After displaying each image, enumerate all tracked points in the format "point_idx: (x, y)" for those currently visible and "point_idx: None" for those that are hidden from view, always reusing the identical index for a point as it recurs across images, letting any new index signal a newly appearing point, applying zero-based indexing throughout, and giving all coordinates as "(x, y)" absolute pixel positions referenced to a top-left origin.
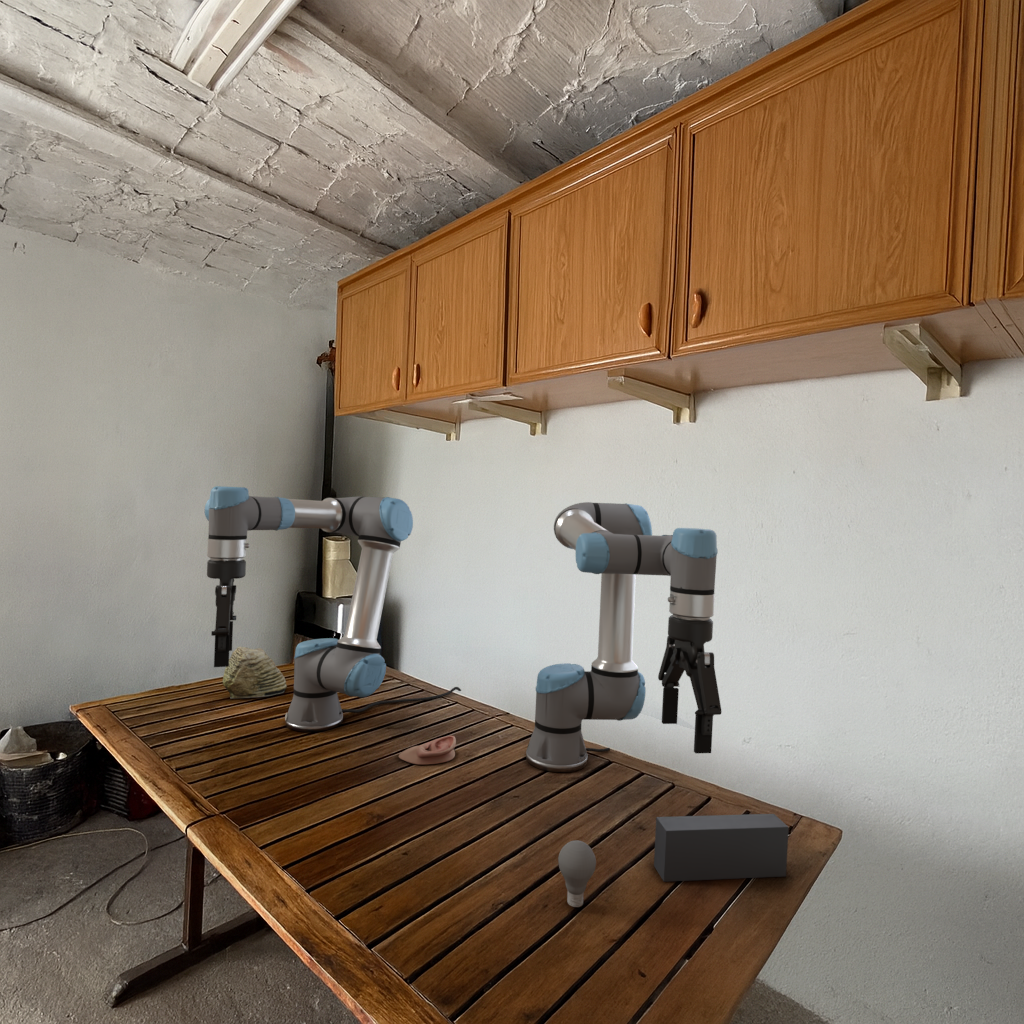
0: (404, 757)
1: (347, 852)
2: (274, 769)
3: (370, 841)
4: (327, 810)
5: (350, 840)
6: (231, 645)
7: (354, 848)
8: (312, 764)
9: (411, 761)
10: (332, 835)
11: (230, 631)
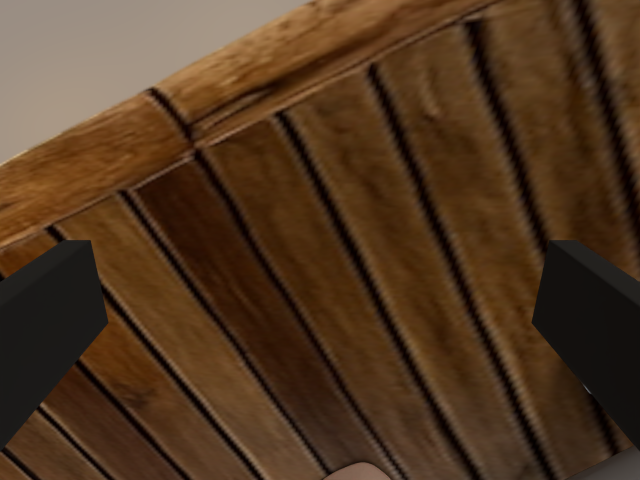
0: (348, 472)
1: None
2: (387, 252)
3: None
4: (173, 334)
5: None
6: (551, 342)
7: None
8: (387, 323)
9: (330, 477)
10: None
11: (635, 421)
